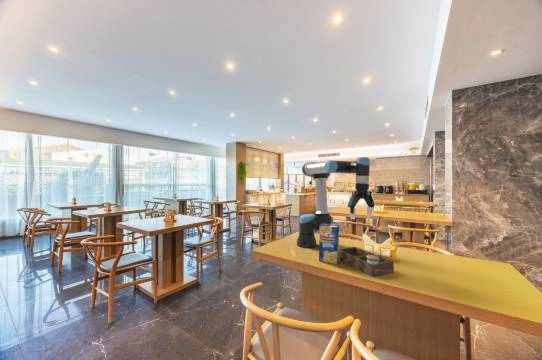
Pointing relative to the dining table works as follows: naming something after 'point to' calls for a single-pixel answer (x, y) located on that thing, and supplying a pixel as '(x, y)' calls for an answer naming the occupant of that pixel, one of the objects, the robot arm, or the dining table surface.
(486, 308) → the dining table surface
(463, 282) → the dining table surface
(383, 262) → the caddy
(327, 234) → the beverage box
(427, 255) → the dining table surface
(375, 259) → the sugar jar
